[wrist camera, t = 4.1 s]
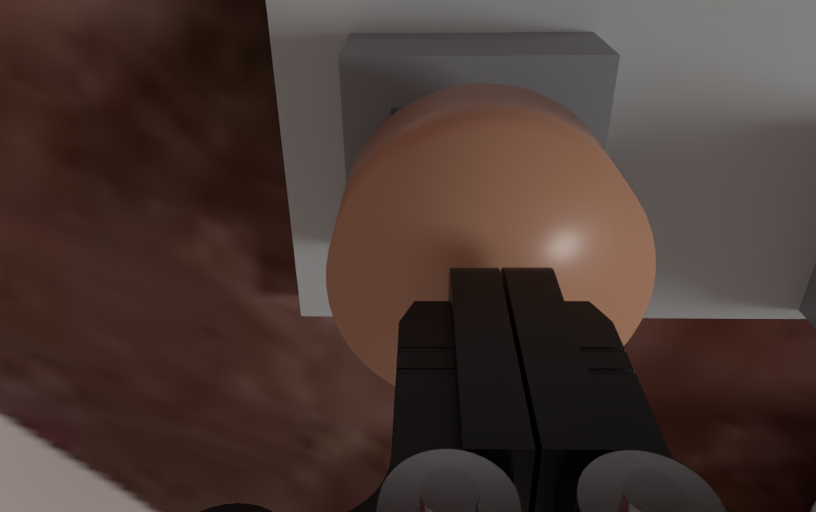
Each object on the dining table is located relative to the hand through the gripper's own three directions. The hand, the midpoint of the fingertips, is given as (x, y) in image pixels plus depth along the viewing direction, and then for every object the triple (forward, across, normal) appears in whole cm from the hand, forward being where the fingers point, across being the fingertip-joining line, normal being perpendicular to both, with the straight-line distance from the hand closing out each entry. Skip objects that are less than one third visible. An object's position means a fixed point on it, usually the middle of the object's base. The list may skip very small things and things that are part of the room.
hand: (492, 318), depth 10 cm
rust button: (+5, 0, 0) cm, 5 cm away
